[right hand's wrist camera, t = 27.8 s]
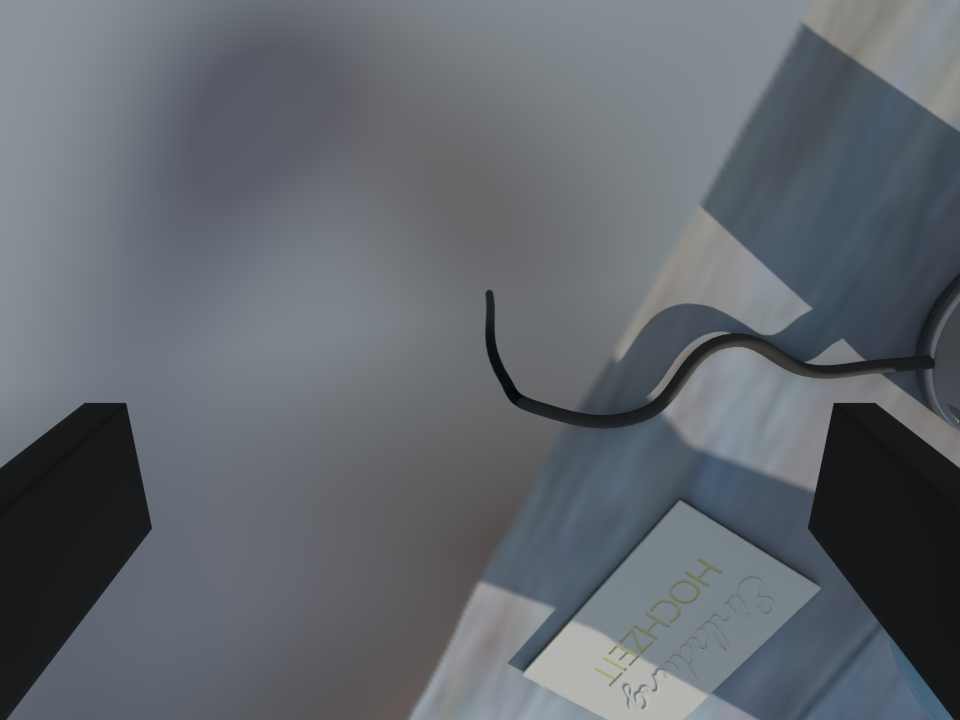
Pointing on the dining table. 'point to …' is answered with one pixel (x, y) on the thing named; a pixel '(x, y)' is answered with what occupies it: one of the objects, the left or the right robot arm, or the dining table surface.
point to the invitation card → (671, 622)
